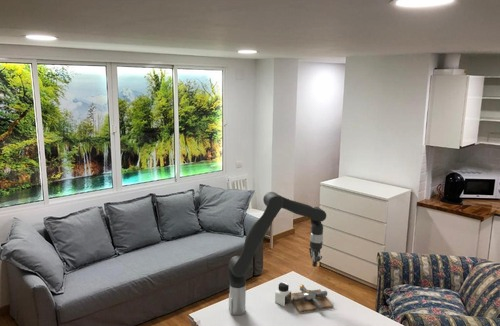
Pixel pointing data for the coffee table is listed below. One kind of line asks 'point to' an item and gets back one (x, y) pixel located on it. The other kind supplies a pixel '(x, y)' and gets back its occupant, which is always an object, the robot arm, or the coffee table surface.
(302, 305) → the stand board
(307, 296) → the spoked handwheel
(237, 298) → the robot arm
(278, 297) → the medicine bottle
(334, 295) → the coffee table surface
